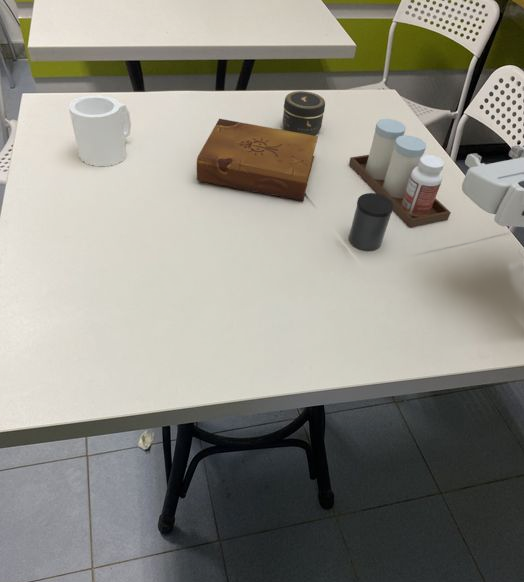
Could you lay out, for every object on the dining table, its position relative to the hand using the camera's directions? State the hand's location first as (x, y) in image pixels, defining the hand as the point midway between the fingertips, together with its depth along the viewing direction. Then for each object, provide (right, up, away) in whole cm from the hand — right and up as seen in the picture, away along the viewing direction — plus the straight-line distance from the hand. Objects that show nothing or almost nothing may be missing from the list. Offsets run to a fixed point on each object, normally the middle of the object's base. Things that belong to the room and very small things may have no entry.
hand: (491, 153), depth 83 cm
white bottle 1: (-12, +7, +30) cm, 33 cm away
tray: (-9, +2, +26) cm, 28 cm away
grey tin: (-19, -12, +13) cm, 26 cm away
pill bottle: (-6, -4, +21) cm, 23 cm away
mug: (-73, +11, +27) cm, 79 cm away
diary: (-40, +7, +28) cm, 49 cm away
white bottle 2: (-9, +2, +26) cm, 27 cm away
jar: (-29, +22, +42) cm, 55 cm away
